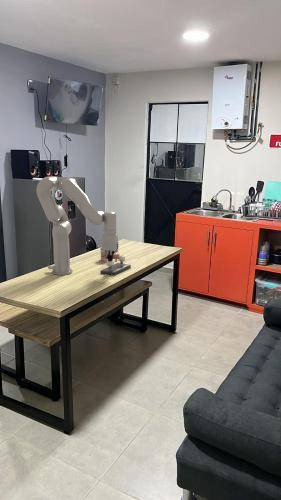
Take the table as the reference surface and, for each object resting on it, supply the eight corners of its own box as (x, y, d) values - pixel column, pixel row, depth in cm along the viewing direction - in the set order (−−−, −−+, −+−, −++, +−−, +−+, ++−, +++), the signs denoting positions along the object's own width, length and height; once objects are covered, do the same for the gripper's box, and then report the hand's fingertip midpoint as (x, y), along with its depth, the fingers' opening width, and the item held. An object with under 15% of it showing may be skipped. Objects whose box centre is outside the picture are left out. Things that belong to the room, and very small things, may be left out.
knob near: (111, 270, 236) (111, 262, 234) (105, 269, 238) (105, 261, 236) (115, 268, 239) (115, 260, 238) (109, 267, 241) (109, 259, 240)
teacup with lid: (97, 260, 269) (97, 244, 267) (104, 257, 277) (104, 241, 274) (112, 262, 264) (112, 246, 261) (119, 259, 272) (118, 243, 269)
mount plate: (114, 275, 234) (114, 272, 233) (100, 273, 238) (100, 270, 238) (130, 267, 252) (130, 264, 251) (117, 265, 256) (117, 262, 256)
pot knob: (117, 263, 241) (117, 254, 240) (111, 262, 243) (111, 254, 242) (120, 261, 245) (120, 253, 243) (114, 260, 247) (114, 252, 245)
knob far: (122, 265, 248) (122, 257, 246) (117, 264, 250) (117, 256, 248) (126, 263, 251) (126, 255, 250) (120, 262, 253) (120, 254, 252)
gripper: (96, 231, 233) (97, 260, 237) (117, 234, 226) (117, 263, 231) (103, 229, 240) (103, 257, 244) (123, 232, 233) (123, 261, 237)
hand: (110, 260), depth 237 cm, fingers closed
